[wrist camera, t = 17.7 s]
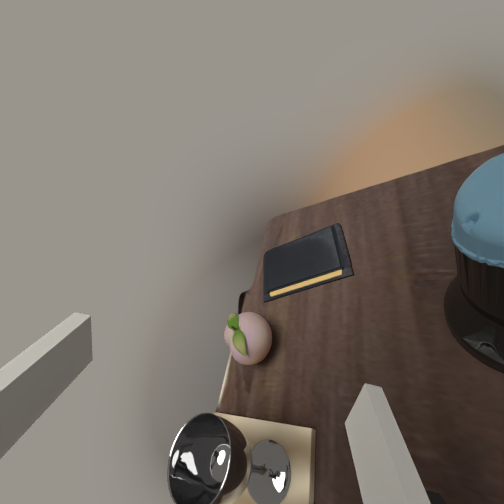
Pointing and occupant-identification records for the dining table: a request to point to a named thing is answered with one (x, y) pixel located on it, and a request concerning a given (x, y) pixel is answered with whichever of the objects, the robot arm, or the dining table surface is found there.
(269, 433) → the board
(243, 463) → the wine glass
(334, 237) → the wallet
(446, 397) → the dining table surface
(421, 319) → the dining table surface
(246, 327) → the decorative fruit
